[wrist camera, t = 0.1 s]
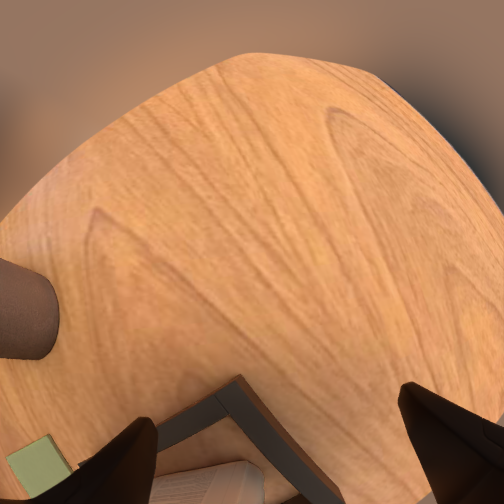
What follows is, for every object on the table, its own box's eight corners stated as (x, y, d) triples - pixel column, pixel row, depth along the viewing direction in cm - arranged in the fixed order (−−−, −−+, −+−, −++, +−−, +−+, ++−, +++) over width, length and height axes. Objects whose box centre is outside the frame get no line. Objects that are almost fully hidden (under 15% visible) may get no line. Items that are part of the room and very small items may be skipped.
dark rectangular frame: (339, 487, 16) (346, 505, 13) (184, 550, 14) (175, 566, 11) (240, 373, 20) (234, 379, 17) (95, 454, 18) (77, 464, 15)
